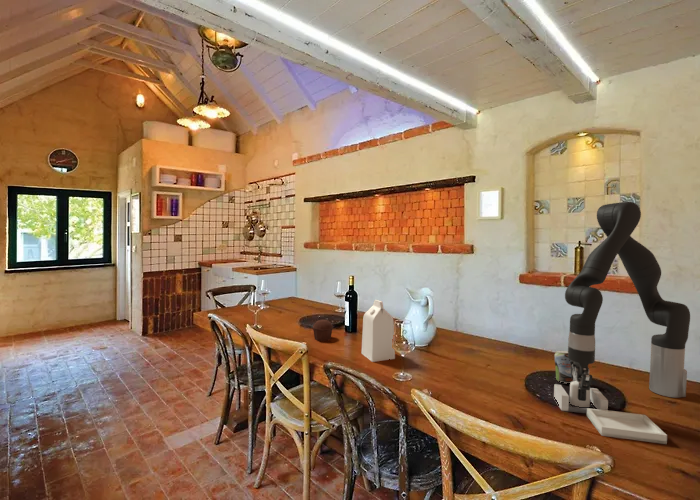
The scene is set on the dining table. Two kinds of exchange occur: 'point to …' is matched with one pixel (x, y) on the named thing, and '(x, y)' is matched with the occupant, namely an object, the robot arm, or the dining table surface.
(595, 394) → the holder
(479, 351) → the dining table surface
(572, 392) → the eye dropper bottle
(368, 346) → the milk
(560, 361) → the beverage can
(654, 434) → the tray
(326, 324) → the muffin
